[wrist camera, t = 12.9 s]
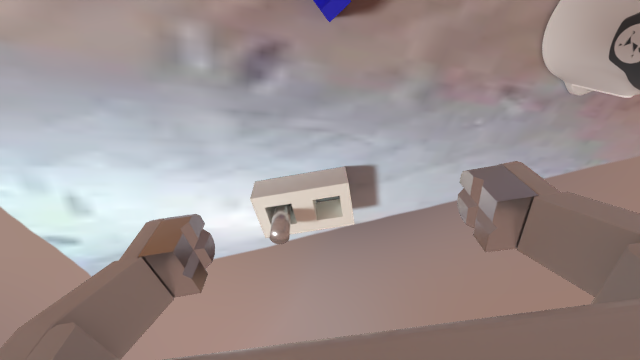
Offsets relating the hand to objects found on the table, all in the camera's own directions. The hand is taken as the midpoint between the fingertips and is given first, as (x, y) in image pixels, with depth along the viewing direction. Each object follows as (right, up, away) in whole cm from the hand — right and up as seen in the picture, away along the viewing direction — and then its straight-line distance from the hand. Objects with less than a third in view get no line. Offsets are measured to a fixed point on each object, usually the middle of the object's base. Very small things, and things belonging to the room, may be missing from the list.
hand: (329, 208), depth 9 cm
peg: (-7, -2, +42) cm, 43 cm away
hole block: (-3, -2, +42) cm, 42 cm away
